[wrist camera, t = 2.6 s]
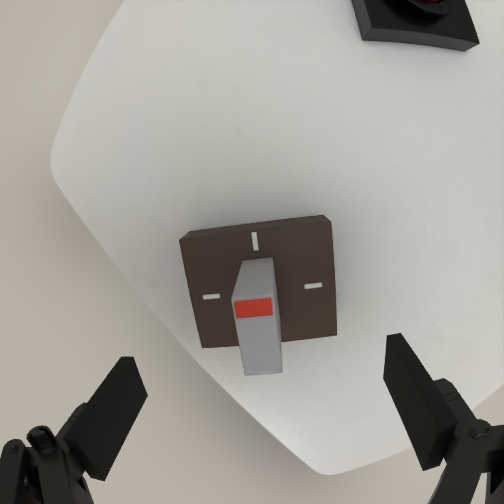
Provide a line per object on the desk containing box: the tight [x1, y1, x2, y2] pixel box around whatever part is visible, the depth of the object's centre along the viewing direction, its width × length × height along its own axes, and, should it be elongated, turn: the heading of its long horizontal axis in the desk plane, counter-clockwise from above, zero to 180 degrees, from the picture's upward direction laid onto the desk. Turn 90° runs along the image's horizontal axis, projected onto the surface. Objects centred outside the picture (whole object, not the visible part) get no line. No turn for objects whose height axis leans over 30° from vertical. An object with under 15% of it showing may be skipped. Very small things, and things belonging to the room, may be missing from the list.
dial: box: [231, 257, 283, 376], centre depth 22 cm, size 6×2×8 cm, turn 8°
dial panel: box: [179, 215, 337, 348], centre depth 27 cm, size 12×10×4 cm
